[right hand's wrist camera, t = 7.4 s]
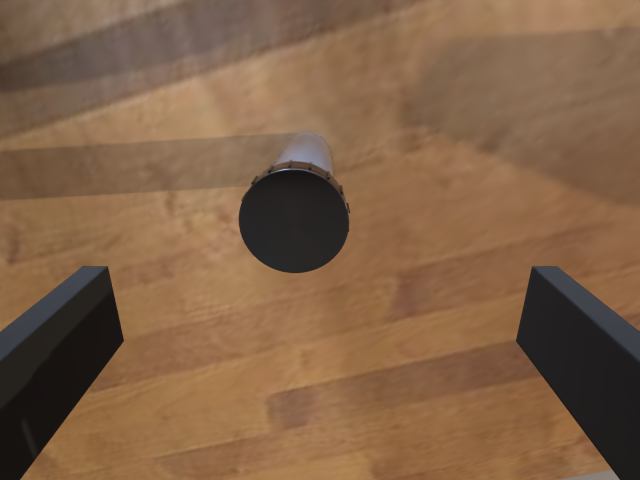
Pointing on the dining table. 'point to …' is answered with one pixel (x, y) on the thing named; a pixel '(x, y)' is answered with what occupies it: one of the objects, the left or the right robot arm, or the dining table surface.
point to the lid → (294, 217)
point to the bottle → (307, 151)
